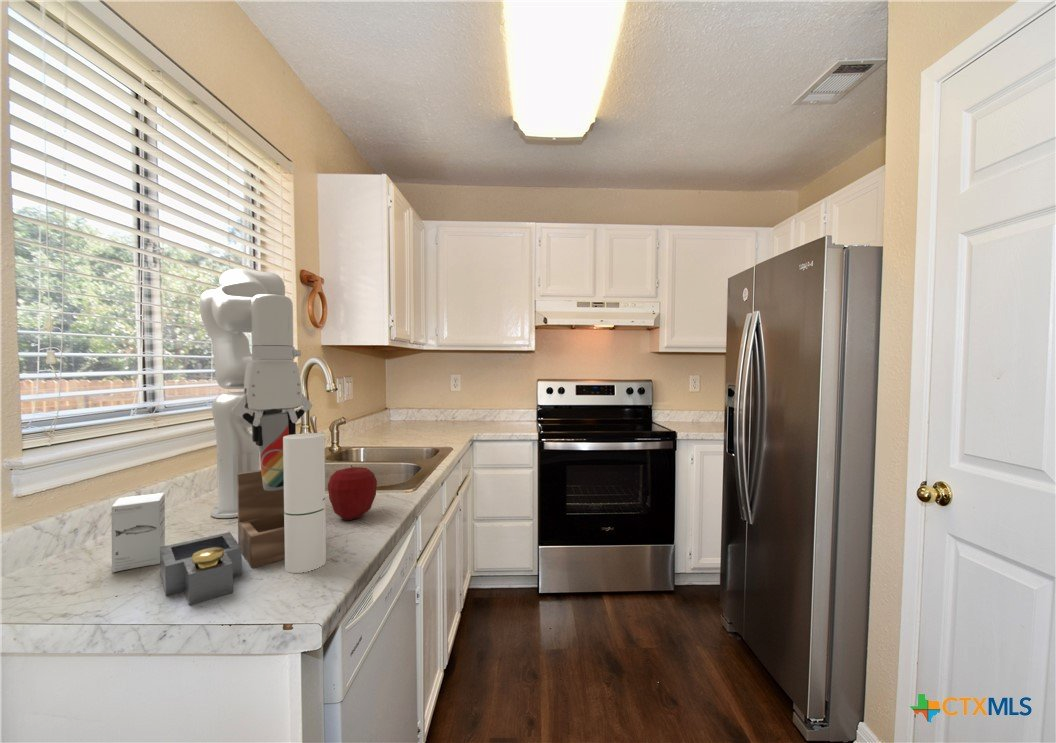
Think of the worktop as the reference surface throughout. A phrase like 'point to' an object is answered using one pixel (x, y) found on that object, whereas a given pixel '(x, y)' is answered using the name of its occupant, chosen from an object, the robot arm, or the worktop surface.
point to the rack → (260, 520)
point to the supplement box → (137, 531)
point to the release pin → (207, 557)
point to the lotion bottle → (273, 448)
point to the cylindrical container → (304, 502)
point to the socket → (205, 581)
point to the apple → (352, 492)
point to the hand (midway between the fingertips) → (274, 442)
